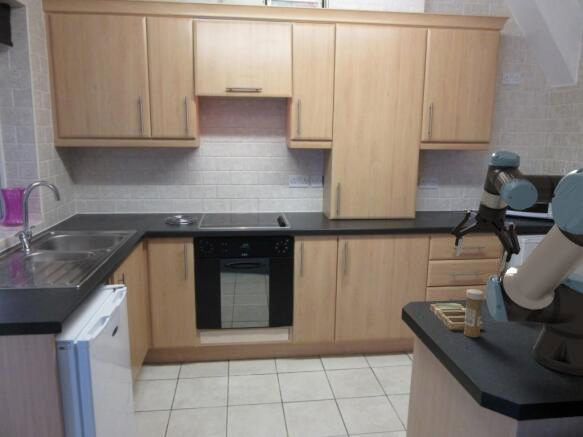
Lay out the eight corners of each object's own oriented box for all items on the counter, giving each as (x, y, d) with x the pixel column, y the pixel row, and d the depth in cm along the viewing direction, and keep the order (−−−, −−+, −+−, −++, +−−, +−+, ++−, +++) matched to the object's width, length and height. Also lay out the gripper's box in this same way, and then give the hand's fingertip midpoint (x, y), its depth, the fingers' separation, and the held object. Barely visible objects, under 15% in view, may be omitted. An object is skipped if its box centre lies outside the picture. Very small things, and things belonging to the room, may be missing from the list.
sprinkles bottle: (483, 337, 128) (487, 293, 126) (469, 338, 127) (472, 294, 125) (473, 330, 132) (477, 288, 130) (460, 331, 131) (463, 288, 129)
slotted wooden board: (482, 329, 133) (483, 322, 133) (450, 329, 133) (450, 322, 132) (459, 309, 150) (459, 303, 149) (430, 309, 149) (430, 303, 149)
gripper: (543, 209, 125) (524, 269, 136) (456, 187, 138) (445, 243, 149) (537, 220, 120) (518, 281, 131) (447, 196, 133) (437, 254, 144)
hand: (479, 261), depth 140 cm, fingers open, 13 cm apart
